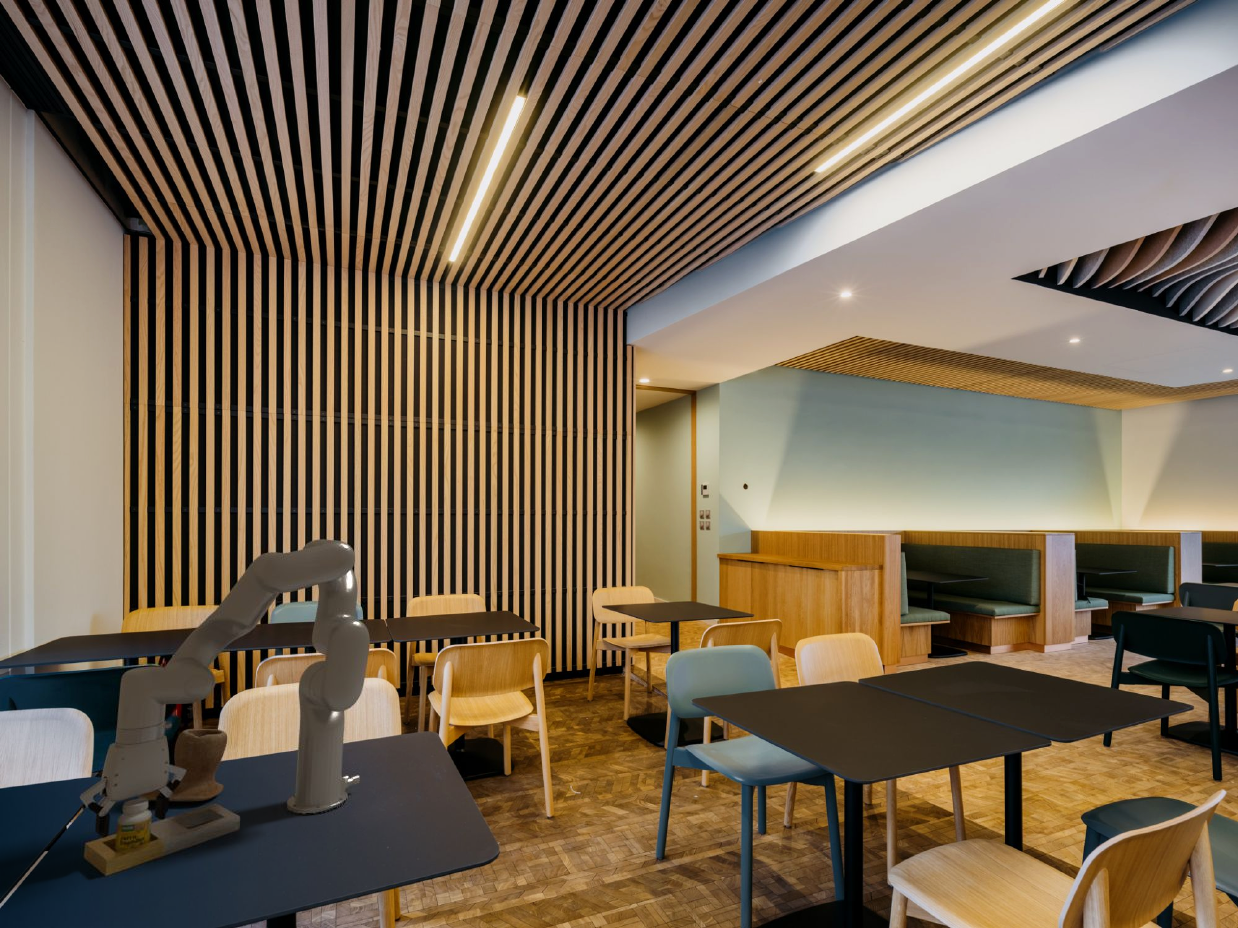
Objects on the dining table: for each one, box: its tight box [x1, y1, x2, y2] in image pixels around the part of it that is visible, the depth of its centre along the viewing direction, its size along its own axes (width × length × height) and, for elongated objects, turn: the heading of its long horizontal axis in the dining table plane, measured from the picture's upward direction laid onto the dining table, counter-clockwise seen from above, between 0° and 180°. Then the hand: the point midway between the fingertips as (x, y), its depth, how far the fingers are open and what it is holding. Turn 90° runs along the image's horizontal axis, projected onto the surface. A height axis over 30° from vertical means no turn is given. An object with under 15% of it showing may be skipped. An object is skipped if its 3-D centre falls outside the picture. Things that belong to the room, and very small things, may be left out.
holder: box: [83, 803, 241, 877], centre depth 131 cm, size 23×11×3 cm, turn 145°
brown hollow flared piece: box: [138, 728, 228, 802], centre depth 154 cm, size 15×12×15 cm
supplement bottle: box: [115, 797, 153, 853], centre depth 127 cm, size 5×5×10 cm
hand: (132, 826), depth 126 cm, fingers open, 9 cm apart
